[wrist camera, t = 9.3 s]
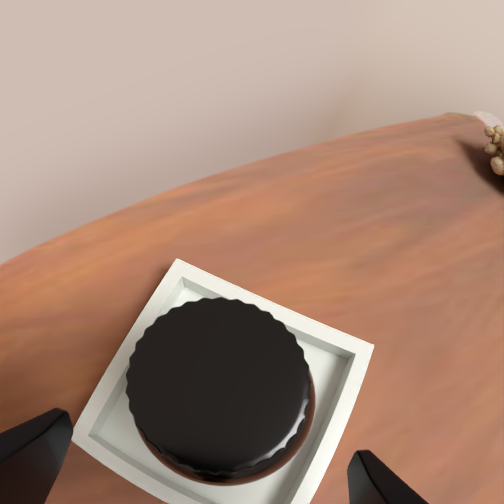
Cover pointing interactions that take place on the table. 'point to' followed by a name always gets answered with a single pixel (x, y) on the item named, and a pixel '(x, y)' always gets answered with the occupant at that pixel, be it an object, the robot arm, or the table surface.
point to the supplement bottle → (220, 392)
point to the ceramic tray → (247, 495)
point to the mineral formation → (496, 148)
